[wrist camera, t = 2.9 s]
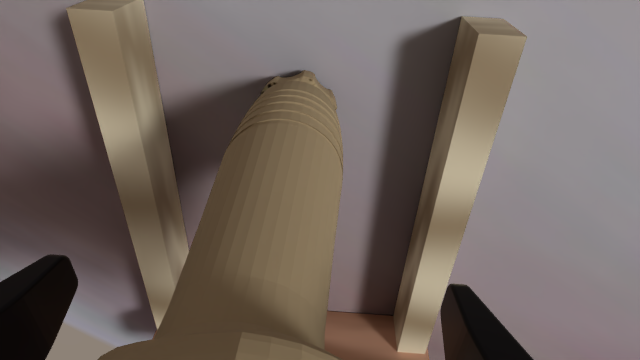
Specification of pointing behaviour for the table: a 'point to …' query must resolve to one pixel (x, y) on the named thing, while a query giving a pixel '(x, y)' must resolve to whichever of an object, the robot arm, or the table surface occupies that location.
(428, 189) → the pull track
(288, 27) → the table surface
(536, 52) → the table surface
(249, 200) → the handle
